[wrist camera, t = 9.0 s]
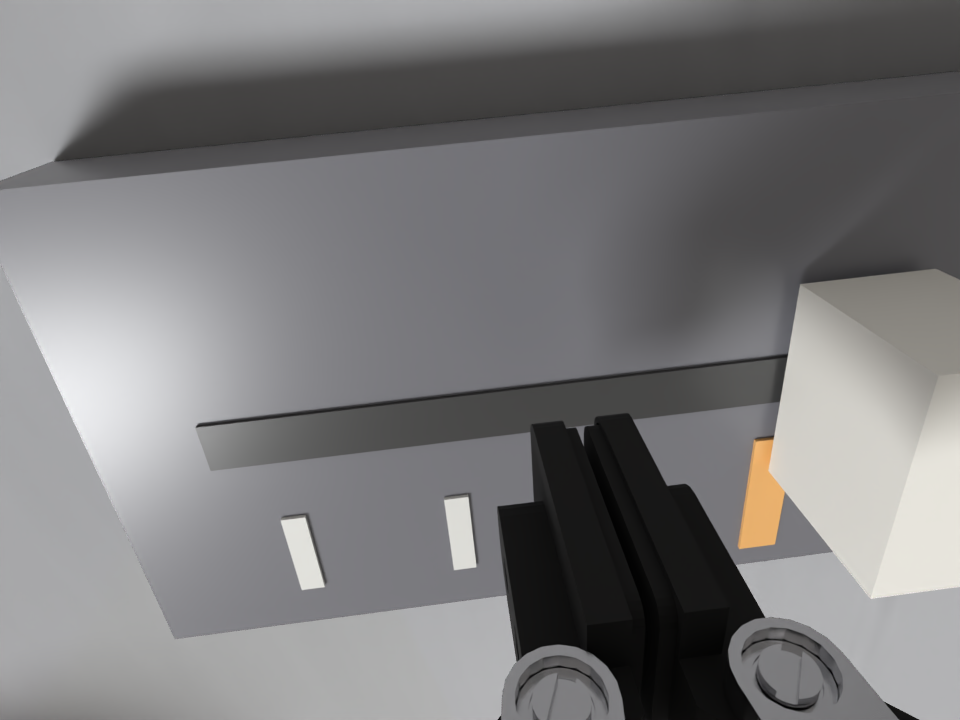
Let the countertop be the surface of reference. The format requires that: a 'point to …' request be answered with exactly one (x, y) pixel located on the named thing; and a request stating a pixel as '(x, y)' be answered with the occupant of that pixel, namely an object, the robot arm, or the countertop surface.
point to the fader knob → (877, 426)
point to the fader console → (454, 324)
